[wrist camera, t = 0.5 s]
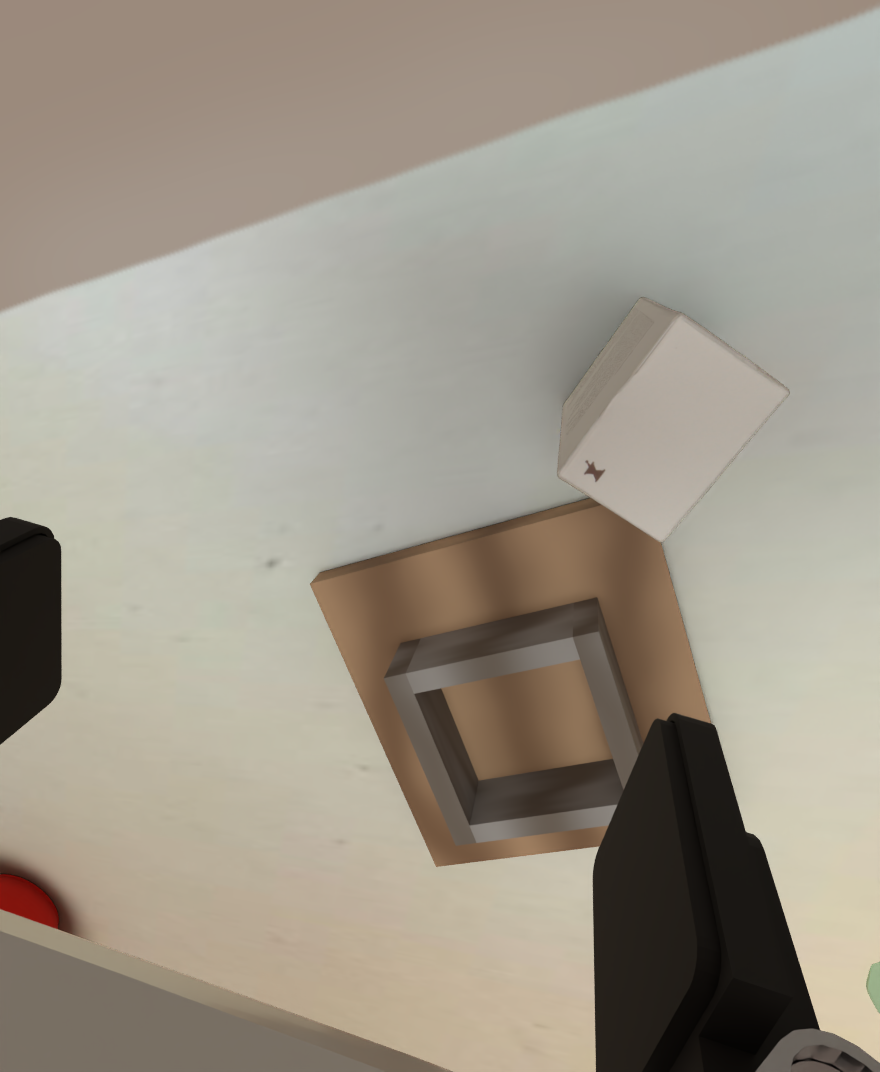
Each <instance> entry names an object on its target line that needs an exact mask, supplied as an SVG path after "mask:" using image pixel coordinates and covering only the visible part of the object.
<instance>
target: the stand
mask: <svg viewBox="0 0 880 1072" xmlns="http://www.w3.org/2000/svg"><path fill="white" fill-rule="evenodd" d="M310 585H311V588H312V590H313V592H314V594H315V597H316V599H317V601H318V603H319V605H320V608H321V610H322V612H323V614H324V617H325V619H326V621H327V623H328V626H329V628H330V630H331V632H332V635H333V637H334V639H335V641H336V644H337V646H338V648H339V650H340V652H341V655H342V657H343V659H344V661H345V664H346V666H347V668H348V670H349V673H350V675H351V677H352V679H353V682H354V684H355V686H356V688H357V691H358V693H359V695H360V697H361V699H362V702H363V704H364V706H365V708H366V711H367V713H368V715H369V717H370V720H371V722H372V724H373V726H374V729H375V731H376V733H377V735H378V738H379V740H380V742H381V744H382V746H383V749H384V751H385V753H386V755H387V758H388V760H389V762H390V764H391V767H392V769H393V771H394V773H395V776H396V778H397V780H398V782H399V785H400V787H401V789H402V791H403V793H404V796H405V798H406V800H407V802H408V805H409V807H410V809H411V811H412V814H413V816H414V818H415V820H416V823H417V825H418V827H419V829H420V832H421V834H422V836H423V838H424V840H425V843H426V845H427V847H428V849H429V852H430V854H431V856H432V858H433V861H434V863H435V865H436V867H438V866H446V865H454V864H462V863H470V862H478V861H486V860H494V859H502V858H510V857H518V856H526V855H534V854H542V853H550V852H558V851H566V850H574V849H582V848H590V847H598V846H600V844H601V842H602V840H603V837H604V835H605V833H606V830H607V828H608V826H609V823H610V821H611V819H612V816H613V814H614V812H615V809H616V807H617V804H618V802H619V800H620V797H621V795H622V793H623V790H624V788H625V786H626V783H627V781H628V779H629V776H630V774H631V772H632V769H633V767H634V765H635V762H636V760H637V757H638V755H639V753H640V750H641V748H642V746H643V743H644V741H645V739H646V736H647V734H648V732H649V729H650V727H651V725H652V723H653V721H654V720H655V719H657V718H658V719H662V720H665V721H666V720H667V719H668V717H669V716H670V715H671V714H672V713H677V714H681V715H684V716H687V717H691V718H694V719H698V720H701V721H704V722H708V723H711V721H710V718H709V714H708V711H707V707H706V703H705V700H704V696H703V693H702V689H701V685H700V682H699V678H698V675H697V671H696V667H695V664H694V660H693V657H692V653H691V649H690V646H689V642H688V639H687V635H686V631H685V628H684V624H683V621H682V617H681V613H680V610H679V606H678V603H677V599H676V595H675V592H674V588H673V585H672V581H671V577H670V574H669V570H668V567H667V563H666V559H665V556H664V552H663V549H662V545H661V542H659V541H657V540H655V539H654V538H652V537H651V536H649V535H648V534H646V533H645V532H643V531H641V530H640V529H638V528H637V527H635V526H634V525H632V524H631V523H629V522H628V521H626V520H624V519H623V518H621V517H620V516H618V515H617V514H615V513H614V512H612V511H610V510H609V509H607V508H606V507H604V506H603V505H601V504H600V503H598V502H596V501H595V500H593V499H592V498H589V499H586V500H582V501H578V502H575V503H571V504H567V505H564V506H560V507H556V508H553V509H549V510H546V511H542V512H538V513H535V514H531V515H527V516H524V517H520V518H517V519H513V520H509V521H506V522H502V523H498V524H495V525H491V526H487V527H484V528H480V529H477V530H473V531H469V532H466V533H462V534H458V535H455V536H451V537H448V538H444V539H440V540H437V541H433V542H429V543H426V544H422V545H418V546H415V547H411V548H408V549H404V550H400V551H397V552H393V553H389V554H386V555H382V556H379V557H375V558H371V559H368V560H364V561H360V562H357V563H353V564H349V565H346V566H342V567H339V568H335V569H331V570H328V571H324V572H320V573H319V574H318V575H317V576H316V578H315V579H314V580H313V581H312V582H311V583H310Z"/></svg>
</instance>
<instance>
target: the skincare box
mask: <svg viewBox="0 0 880 1072" xmlns="http://www.w3.org/2000/svg"><path fill="white" fill-rule="evenodd" d="M789 394H790V391H789V389H788V388H787V387H785V386H784V385H783V384H782V383H780V382H779V381H777V380H776V379H775V378H773V377H772V376H771V375H769V374H768V373H767V372H765V371H764V370H762V369H761V368H760V367H758V366H757V365H756V364H754V363H753V362H751V361H750V360H749V359H747V358H746V357H744V356H743V355H742V354H740V353H739V352H737V351H736V350H735V349H733V348H732V347H730V346H729V345H728V344H726V343H725V342H724V341H722V340H721V339H719V338H718V337H717V336H715V335H714V334H712V333H711V332H710V331H708V330H707V329H705V328H704V327H702V326H701V325H699V324H698V323H696V322H695V321H694V320H692V319H691V318H689V317H688V316H686V315H685V314H683V313H681V312H677V311H674V310H672V309H669V308H667V307H664V306H662V305H660V304H658V303H656V302H654V301H652V300H649V299H647V298H645V297H642V298H640V299H639V300H638V301H637V303H636V304H635V305H634V307H633V308H632V310H631V311H630V312H629V314H628V315H627V316H626V318H625V319H624V321H623V322H622V323H621V325H620V326H619V328H618V329H617V330H616V332H615V333H614V335H613V336H612V337H611V339H610V340H609V342H608V343H607V344H606V346H605V347H604V349H603V350H602V351H601V353H600V354H599V356H598V357H597V358H596V360H595V361H594V363H593V364H592V365H591V367H590V368H589V370H588V371H587V372H586V374H585V375H584V377H583V378H582V380H581V381H580V382H579V384H578V385H577V387H576V388H575V389H574V391H573V392H572V394H571V395H570V396H569V398H568V399H567V400H566V402H565V403H564V405H563V411H562V423H561V434H560V445H559V456H558V468H557V476H558V477H559V478H560V479H562V480H563V481H565V482H566V483H568V484H570V485H571V486H573V487H574V488H576V489H578V490H579V491H581V492H582V493H584V494H586V495H587V496H589V497H590V498H592V499H593V500H595V501H596V502H598V503H600V504H601V505H603V506H604V507H606V508H607V509H609V510H610V511H612V512H614V513H615V514H617V515H618V516H620V517H621V518H623V519H624V520H626V521H628V522H629V523H631V524H632V525H634V526H635V527H637V528H638V529H640V530H641V531H643V532H645V533H646V534H648V535H649V536H651V537H652V538H654V539H655V540H657V541H659V542H663V541H665V540H666V539H667V537H668V536H669V535H670V534H671V533H672V532H673V531H674V529H675V528H676V527H677V526H678V525H679V524H680V523H681V521H682V520H683V519H684V518H685V517H686V516H687V514H688V513H689V512H690V511H691V510H692V509H693V507H694V506H695V505H696V504H697V503H698V502H699V500H700V499H701V498H702V497H703V496H704V495H705V494H706V492H707V491H708V490H709V489H710V488H711V486H712V485H713V484H714V483H715V482H716V480H717V479H718V478H719V477H720V476H721V474H722V473H723V472H724V471H725V469H726V468H727V467H728V466H729V465H730V463H731V462H732V461H733V460H734V459H735V457H736V456H737V455H738V454H739V453H740V451H741V450H742V449H743V448H744V447H745V445H746V444H747V443H748V442H749V441H750V439H751V438H752V437H753V436H754V435H755V434H756V433H757V431H758V430H759V429H760V428H761V427H762V425H763V424H764V423H765V422H766V421H767V419H768V418H769V417H770V416H771V415H772V414H773V412H774V411H775V410H776V409H777V408H778V407H779V405H780V404H781V403H782V402H783V401H784V400H785V399H786V398H787V397H788V395H789Z"/></svg>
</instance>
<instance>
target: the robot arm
mask: <svg viewBox="0 0 880 1072" xmlns="http://www.w3.org/2000/svg"><path fill="white" fill-rule="evenodd" d="M60 685H61V546H60V544H59V542H58V541H57V540H55V539H54V535H53V533H52V531H51V530H50V529H49V528H47V527H45V526H41V525H38V524H34V523H31V522H28V521H24V520H21V519H18V518H13V517H8V518H5V519H2V520H0V744H2V743H3V742H4V741H5V740H6V739H8V738H9V737H10V736H11V735H13V734H14V733H15V732H16V731H17V730H19V729H20V728H21V727H22V726H23V725H25V724H26V723H27V722H28V721H29V720H31V719H32V718H33V717H34V716H35V715H37V714H38V713H39V712H40V711H42V710H43V709H44V708H45V707H46V706H48V705H49V704H50V703H51V702H52V701H53V699H54V698H55V697H56V695H57V693H58V691H59V689H60ZM593 921H594V979H595V1036H596V1072H880V1063H879V1062H878V1061H876V1060H875V1059H874V1058H872V1057H871V1056H870V1055H869V1054H867V1053H866V1052H865V1051H863V1050H862V1049H861V1048H860V1047H858V1046H856V1045H854V1044H853V1043H851V1042H849V1041H847V1040H845V1039H843V1038H841V1037H839V1036H837V1035H835V1034H833V1033H829V1032H825V1031H821V1030H820V1028H819V1025H818V1022H817V1019H816V1016H815V1012H814V1009H813V1006H812V1003H811V999H810V996H809V993H808V990H807V987H806V983H805V980H804V977H803V974H802V970H801V967H800V964H799V961H798V957H797V954H796V951H795V948H794V945H793V941H792V938H791V935H790V932H789V928H788V925H787V922H786V919H785V916H784V912H783V909H782V906H781V903H780V899H779V896H778V893H777V890H776V887H775V883H774V880H773V877H772V874H771V870H770V867H769V864H768V861H767V858H766V854H765V851H764V848H763V846H762V844H761V842H760V840H759V839H758V838H757V837H756V836H755V835H753V834H750V833H747V832H746V831H745V828H744V824H743V821H742V817H741V814H740V810H739V807H738V803H737V800H736V796H735V793H734V789H733V786H732V782H731V779H730V776H729V772H728V769H727V765H726V762H725V758H724V755H723V751H722V748H721V744H720V741H719V737H718V734H717V730H716V728H715V726H714V725H713V724H711V723H708V722H704V721H701V720H698V719H694V718H691V717H687V716H684V715H681V714H677V713H672V714H671V715H670V716H669V717H668V719H667V720H666V721H665V720H662V719H658V718H657V719H655V720H654V721H653V723H652V725H651V727H650V729H649V732H648V734H647V736H646V739H645V741H644V743H643V746H642V748H641V750H640V753H639V755H638V757H637V760H636V762H635V765H634V767H633V769H632V772H631V774H630V776H629V779H628V781H627V783H626V786H625V788H624V790H623V793H622V795H621V797H620V800H619V802H618V804H617V807H616V809H615V812H614V814H613V816H612V819H611V821H610V823H609V826H608V828H607V830H606V833H605V835H604V837H603V840H602V842H601V844H600V847H599V849H598V852H597V855H596V859H595V863H594V869H593ZM0 1072H453V1071H450V1070H447V1069H445V1068H442V1067H440V1066H437V1065H434V1064H432V1063H429V1062H426V1061H424V1060H421V1059H419V1058H416V1057H413V1056H411V1055H408V1054H405V1053H402V1052H400V1051H397V1050H394V1049H391V1048H388V1047H386V1046H383V1045H380V1044H377V1043H374V1042H372V1041H369V1040H366V1039H363V1038H361V1037H358V1036H355V1035H352V1034H349V1033H347V1032H344V1031H341V1030H338V1029H336V1028H333V1027H330V1026H327V1025H324V1024H322V1023H319V1022H316V1021H313V1020H311V1019H308V1018H305V1017H302V1016H299V1015H297V1014H294V1013H291V1012H288V1011H286V1010H283V1009H280V1008H277V1007H274V1006H272V1005H269V1004H266V1003H263V1002H260V1001H258V1000H255V999H252V998H249V997H247V996H244V995H241V994H238V993H235V992H233V991H230V990H227V989H224V988H222V987H219V986H216V985H213V984H210V983H208V982H205V981H202V980H199V979H196V978H194V977H191V976H188V975H185V974H182V973H180V972H177V971H174V970H171V969H168V968H165V967H163V966H160V965H157V964H154V963H151V962H148V961H146V960H143V959H140V958H137V957H134V956H131V955H129V954H126V953H123V952H120V951H117V950H115V949H112V948H109V947H106V946H103V945H100V944H98V943H95V942H92V941H89V940H86V939H83V938H81V937H78V936H75V935H72V934H69V933H66V932H64V931H61V930H58V929H55V928H52V927H49V926H47V925H44V924H41V923H38V922H35V921H32V920H29V919H27V918H24V917H21V916H18V915H15V914H12V913H10V912H7V911H4V910H1V909H0Z"/></svg>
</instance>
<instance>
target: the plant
mask: <svg viewBox="0 0 880 1072" xmlns="http://www.w3.org/2000/svg"><path fill="white" fill-rule="evenodd" d="M866 988H867V991H868V994H869V996H870V998H871V1000H872V1002H873V1004H874V1005H875V1007H876V1009H877V1010H878V1012H879V1013H880V962H878V963H875V964H872V966H871V968H870V971H869V974H868V978H867V983H866Z"/></svg>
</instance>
